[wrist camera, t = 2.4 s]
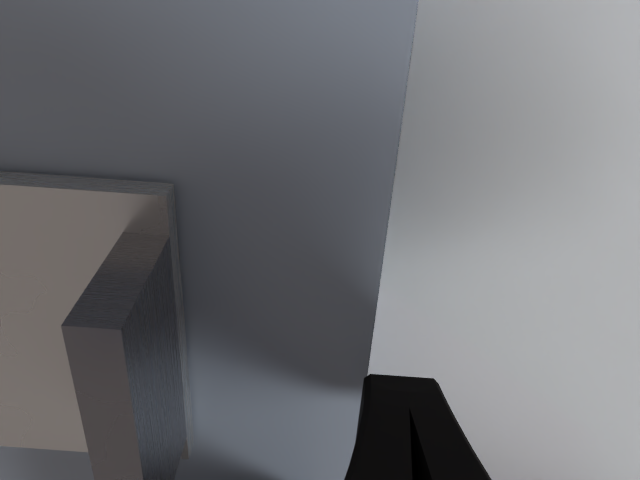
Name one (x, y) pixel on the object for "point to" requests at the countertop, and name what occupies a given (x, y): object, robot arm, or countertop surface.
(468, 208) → the countertop surface
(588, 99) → the countertop surface
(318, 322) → the socket panel
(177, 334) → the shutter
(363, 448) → the robot arm
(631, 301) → the countertop surface
